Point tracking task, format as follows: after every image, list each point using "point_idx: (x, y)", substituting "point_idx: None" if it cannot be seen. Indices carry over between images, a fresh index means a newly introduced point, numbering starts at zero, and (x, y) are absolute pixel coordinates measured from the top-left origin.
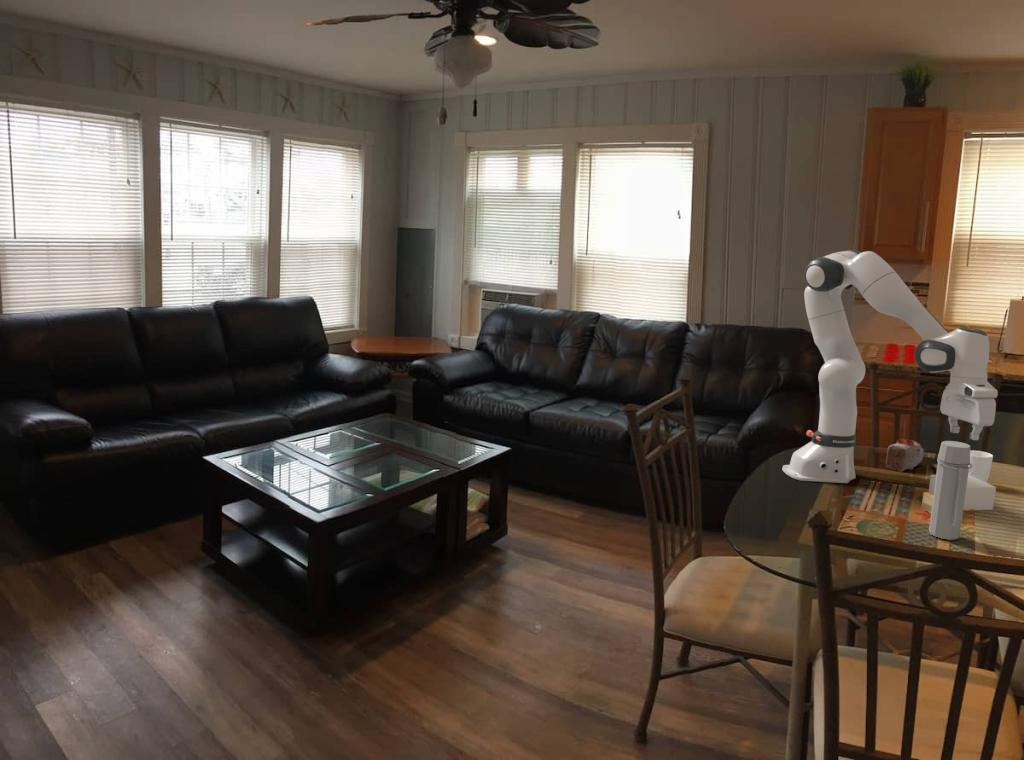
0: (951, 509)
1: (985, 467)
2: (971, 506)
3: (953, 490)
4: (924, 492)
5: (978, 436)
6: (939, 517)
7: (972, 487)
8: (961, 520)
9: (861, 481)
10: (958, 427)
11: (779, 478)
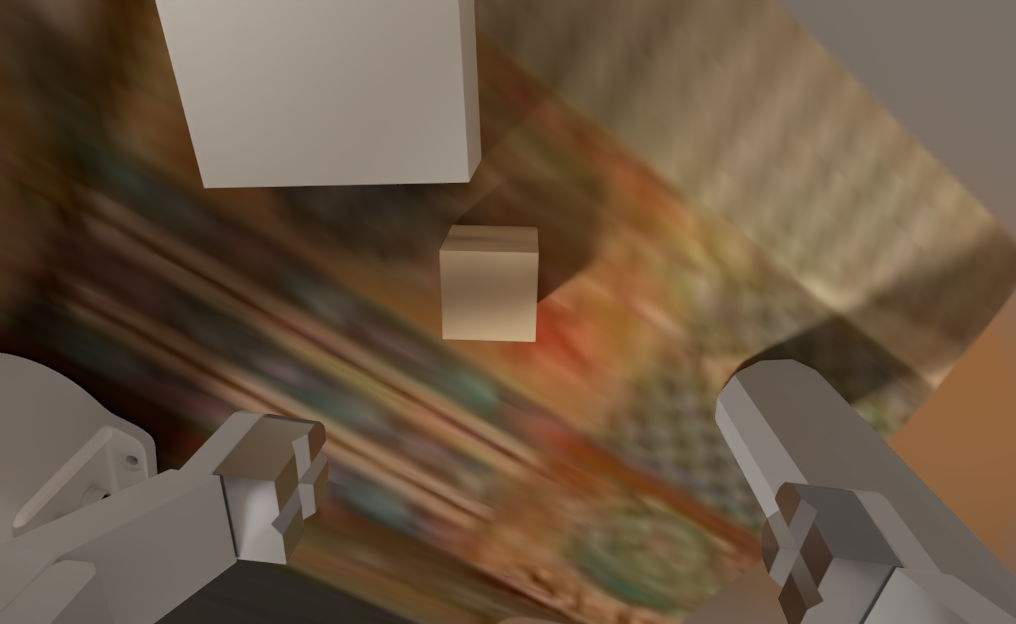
0: None
1: None
2: (474, 55)
3: None
4: (446, 336)
5: (906, 539)
6: None
7: (457, 62)
8: (858, 414)
9: (100, 363)
10: (280, 490)
11: None
